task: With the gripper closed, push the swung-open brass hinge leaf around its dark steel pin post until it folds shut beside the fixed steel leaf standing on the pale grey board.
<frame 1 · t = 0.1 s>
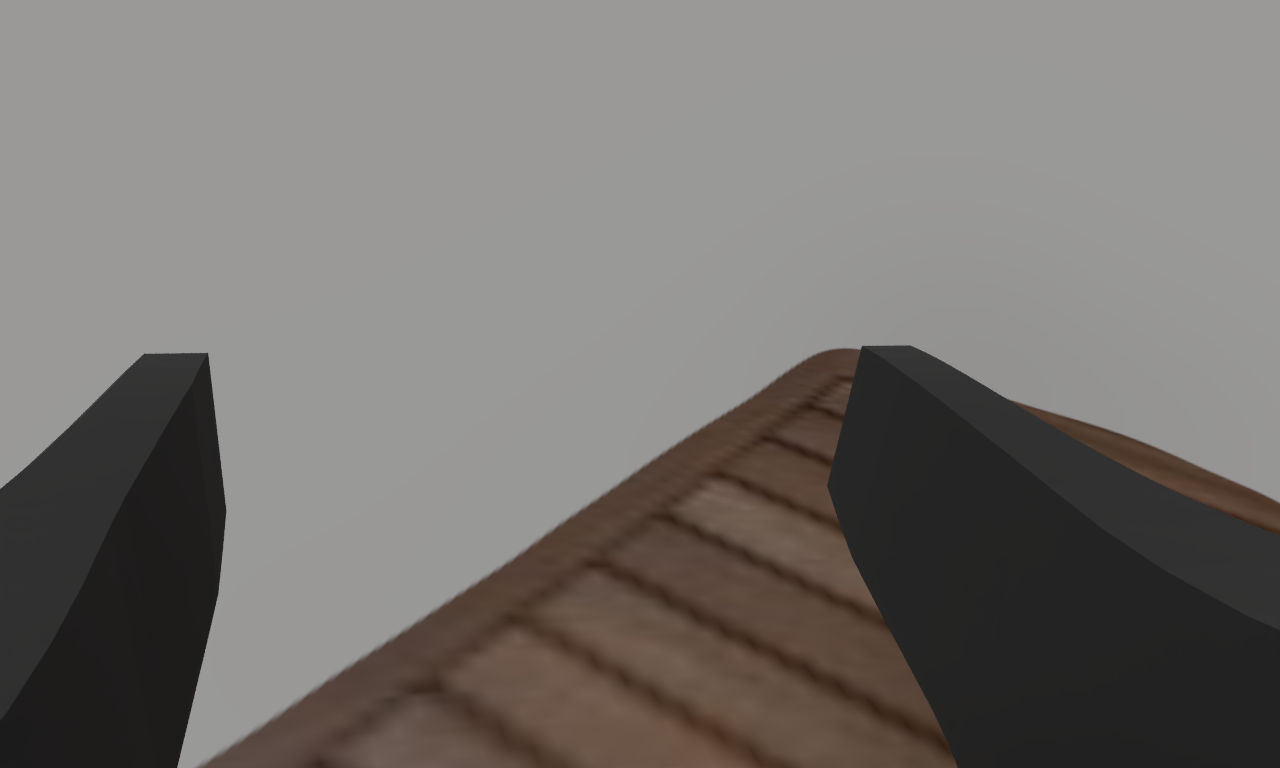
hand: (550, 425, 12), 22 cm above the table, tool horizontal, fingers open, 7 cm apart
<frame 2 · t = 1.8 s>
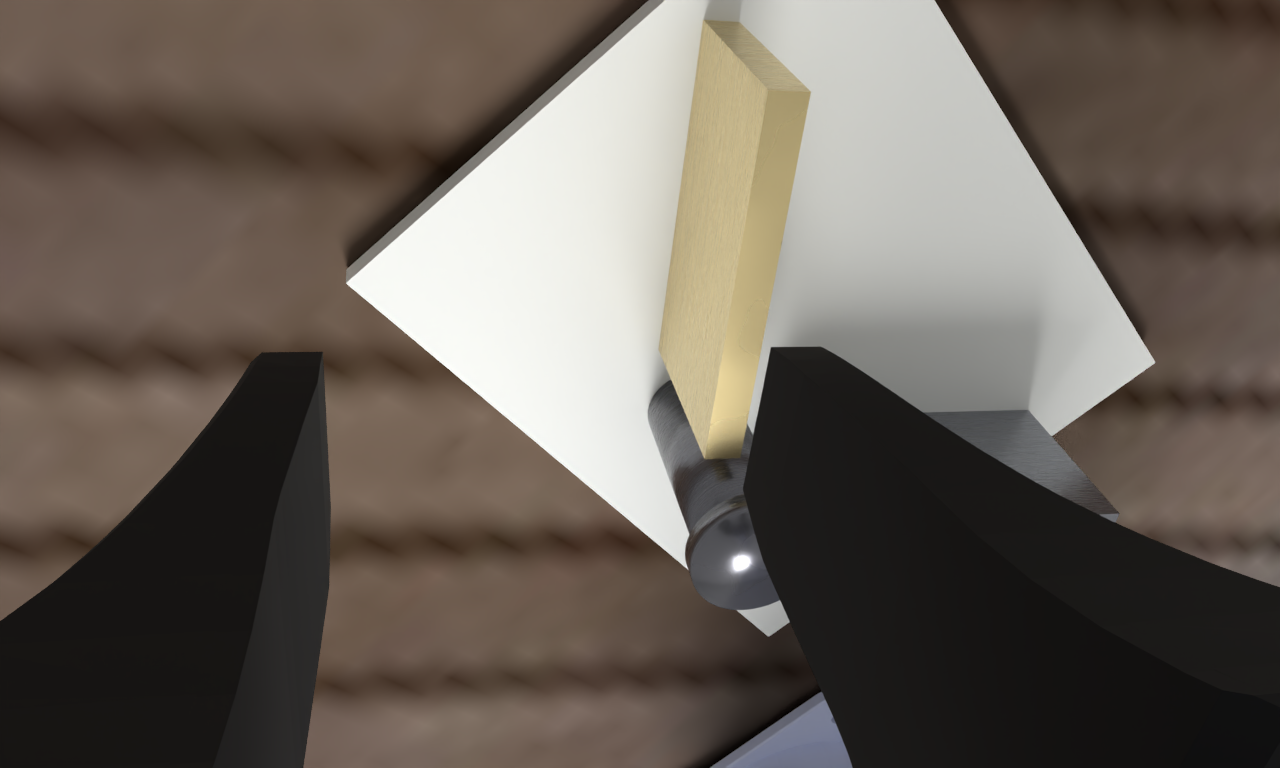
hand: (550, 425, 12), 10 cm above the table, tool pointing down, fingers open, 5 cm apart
hinge fixed: (690, 409, 25), resting on board
loose leaf: (721, 241, 20), point 3 cm above the table, hinge at 90.0°, touching board
board: (787, 314, 25), on the table
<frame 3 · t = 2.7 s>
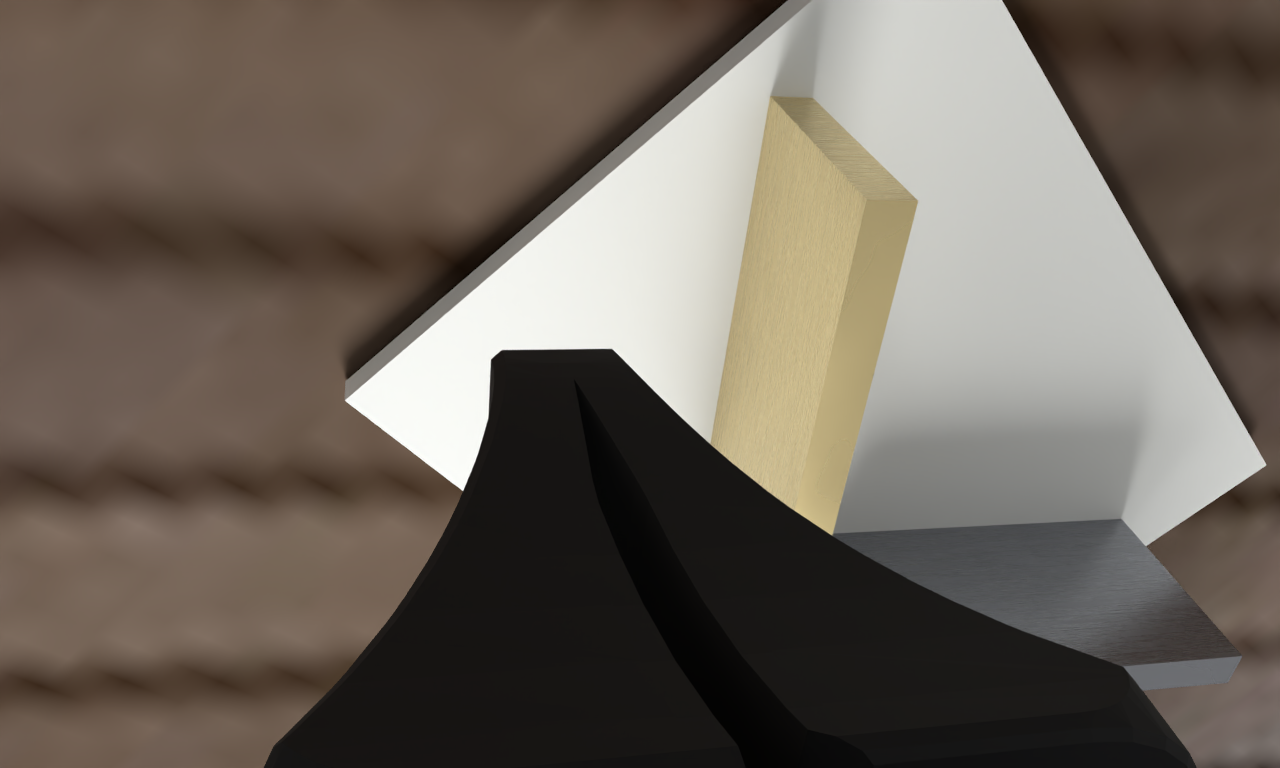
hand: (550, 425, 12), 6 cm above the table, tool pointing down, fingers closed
hinge fixed: (741, 528, 22), resting on board
loose leaf: (791, 358, 17), point 3 cm above the table, hinge at 90.0°, touching board
board: (854, 419, 21), on the table
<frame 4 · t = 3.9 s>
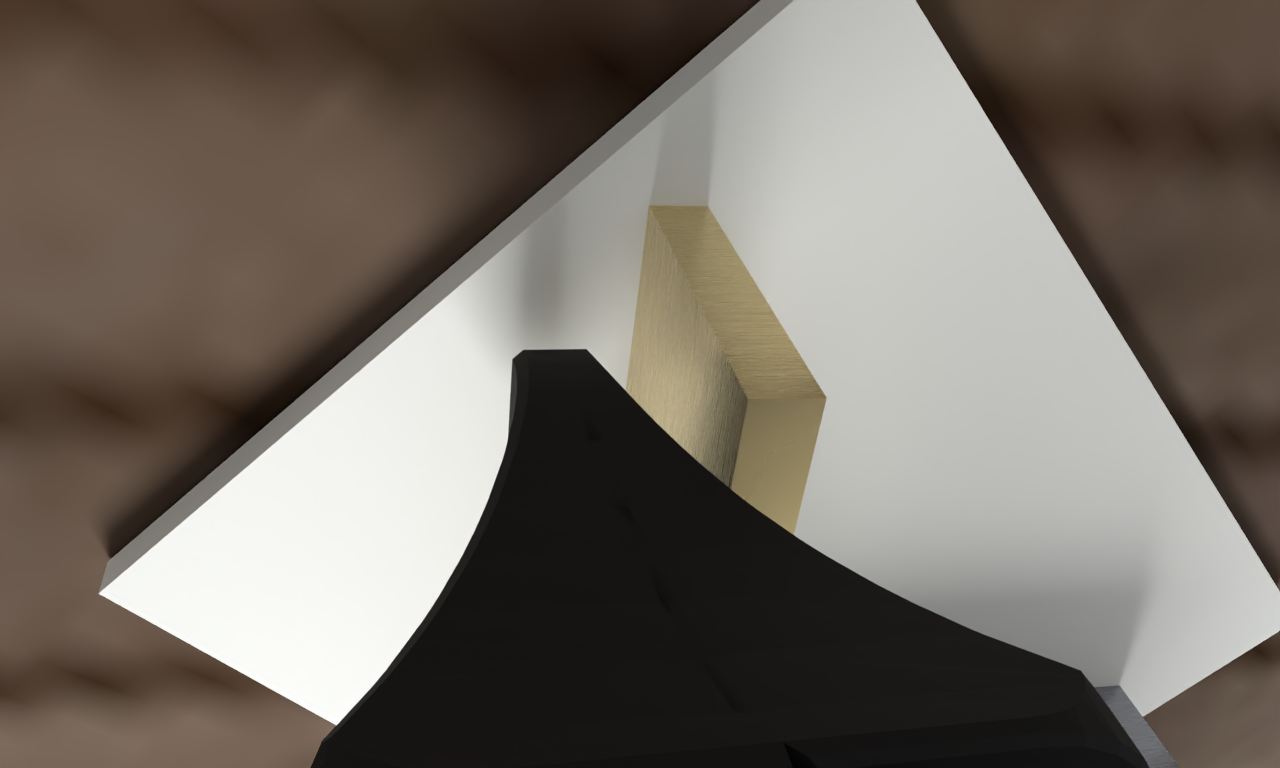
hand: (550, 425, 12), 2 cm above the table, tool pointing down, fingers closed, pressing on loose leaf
hinge fixed: (644, 716, 17), resting on board
loose leaf: (679, 556, 13), point 3 cm above the table, hinge at 90.0°, touching board, gripper
board: (784, 581, 17), on the table
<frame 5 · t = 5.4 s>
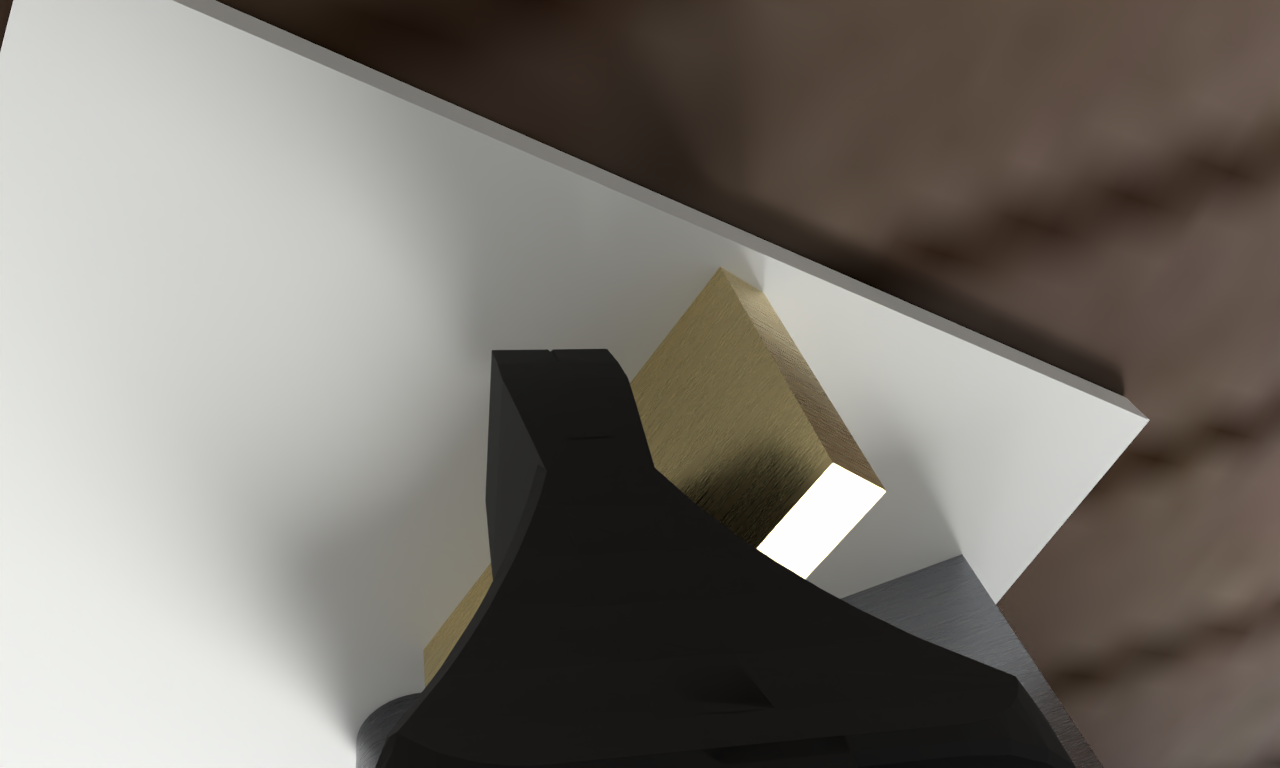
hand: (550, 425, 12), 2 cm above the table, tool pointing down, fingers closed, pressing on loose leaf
hinge fixed: (424, 738, 17), resting on board
loose leaf: (606, 586, 13), point 3 cm above the table, hinge at 37.0°, touching board, gripper
board: (503, 568, 16), on the table
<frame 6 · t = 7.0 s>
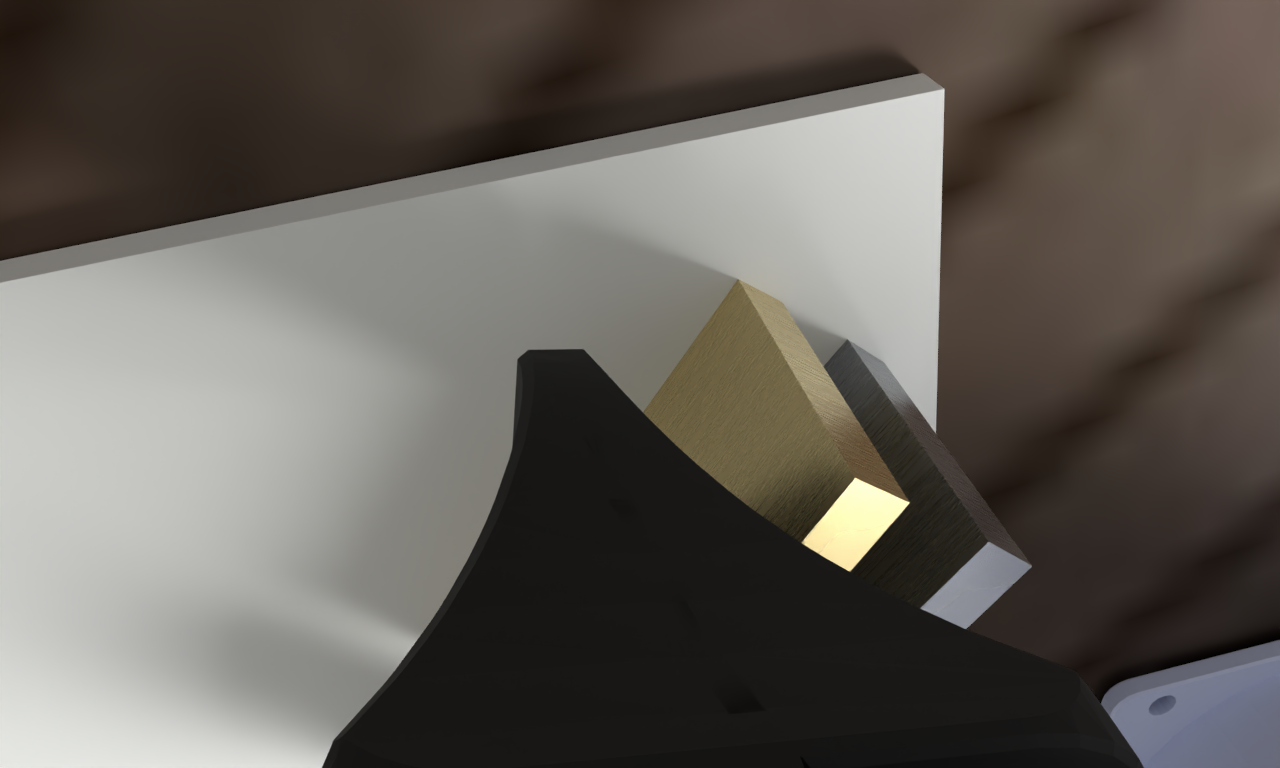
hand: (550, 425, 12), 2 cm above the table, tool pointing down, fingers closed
hinge fixed: (469, 748, 17), resting on board
loose leaf: (639, 599, 13), point 3 cm above the table, hinge at 4.2°, touching board, gripper
board: (420, 582, 16), on the table
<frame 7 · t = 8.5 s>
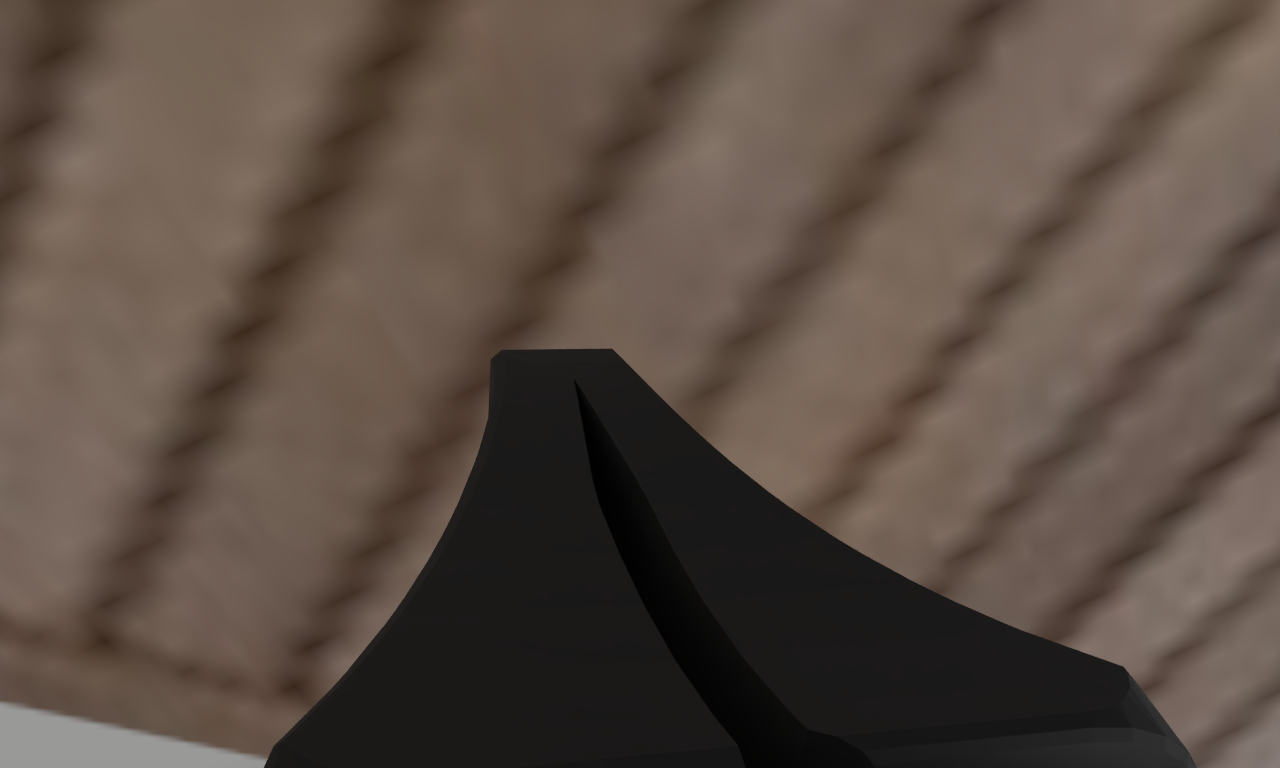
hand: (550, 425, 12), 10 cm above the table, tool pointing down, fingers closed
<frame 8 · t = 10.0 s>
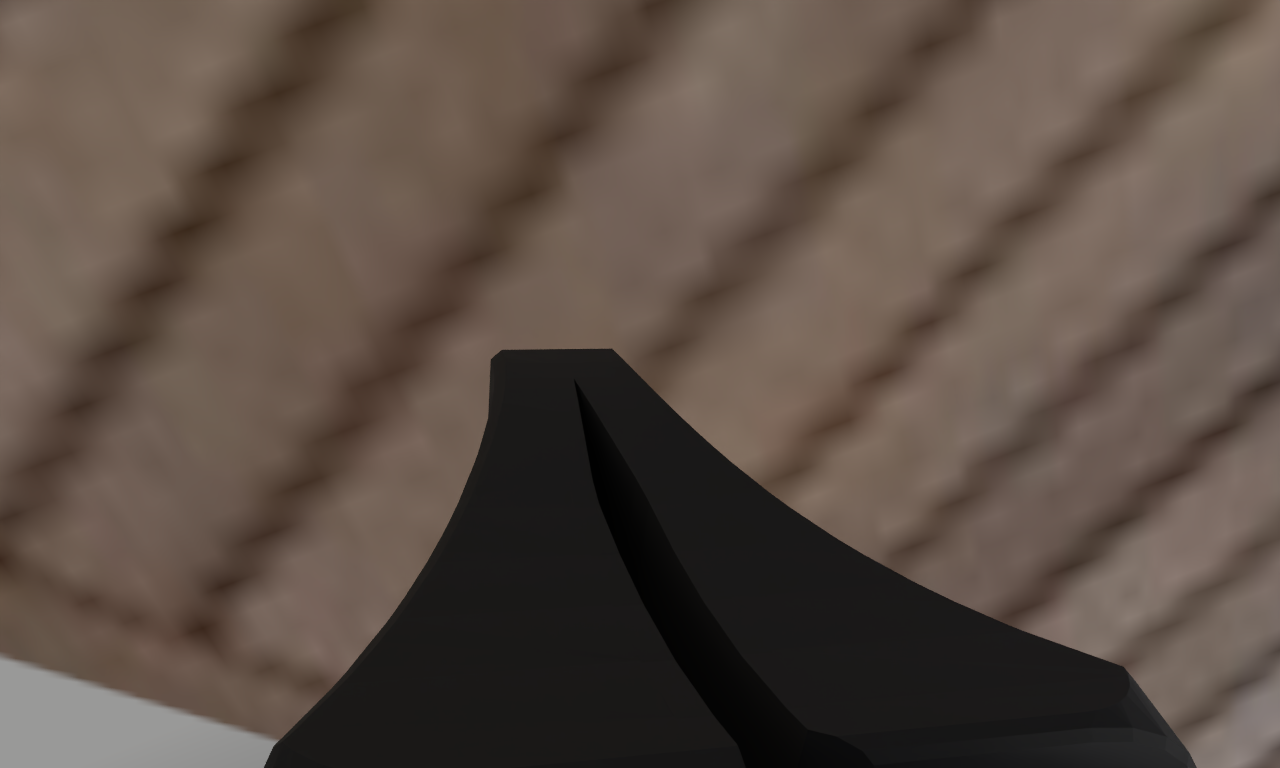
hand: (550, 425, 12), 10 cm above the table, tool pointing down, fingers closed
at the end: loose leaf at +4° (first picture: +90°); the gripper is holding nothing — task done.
